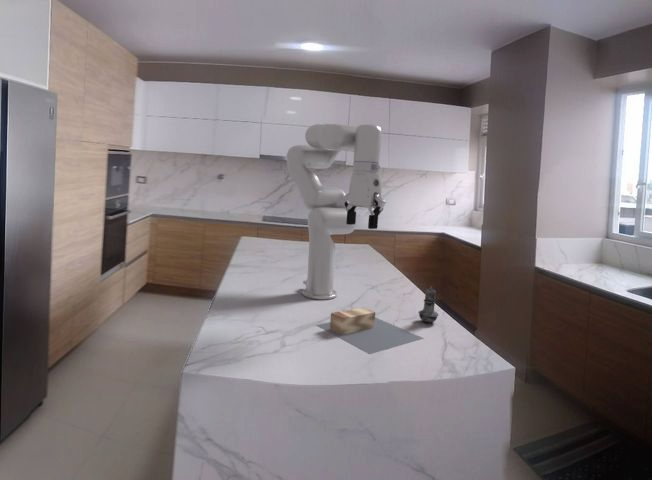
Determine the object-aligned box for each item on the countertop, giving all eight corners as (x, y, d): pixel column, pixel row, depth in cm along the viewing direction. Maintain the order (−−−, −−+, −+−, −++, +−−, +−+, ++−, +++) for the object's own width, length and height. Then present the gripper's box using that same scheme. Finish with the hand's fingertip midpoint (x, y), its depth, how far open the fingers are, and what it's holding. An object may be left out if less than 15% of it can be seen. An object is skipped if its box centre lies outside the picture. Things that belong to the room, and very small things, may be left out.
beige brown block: (362, 321, 120) (363, 306, 119) (374, 327, 116) (375, 311, 115) (329, 329, 112) (330, 312, 112) (341, 335, 108) (342, 318, 108)
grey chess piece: (423, 328, 119) (427, 288, 118) (413, 321, 125) (417, 283, 123) (441, 327, 121) (445, 288, 119) (431, 320, 127) (434, 283, 125)
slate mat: (315, 327, 115) (315, 325, 115) (367, 316, 127) (367, 314, 127) (369, 357, 98) (369, 354, 98) (423, 341, 110) (423, 338, 110)
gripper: (396, 170, 115) (391, 230, 118) (356, 168, 129) (352, 222, 131) (377, 168, 111) (372, 230, 113) (337, 167, 124) (333, 223, 127)
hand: (361, 226), depth 122 cm, fingers open, 9 cm apart
